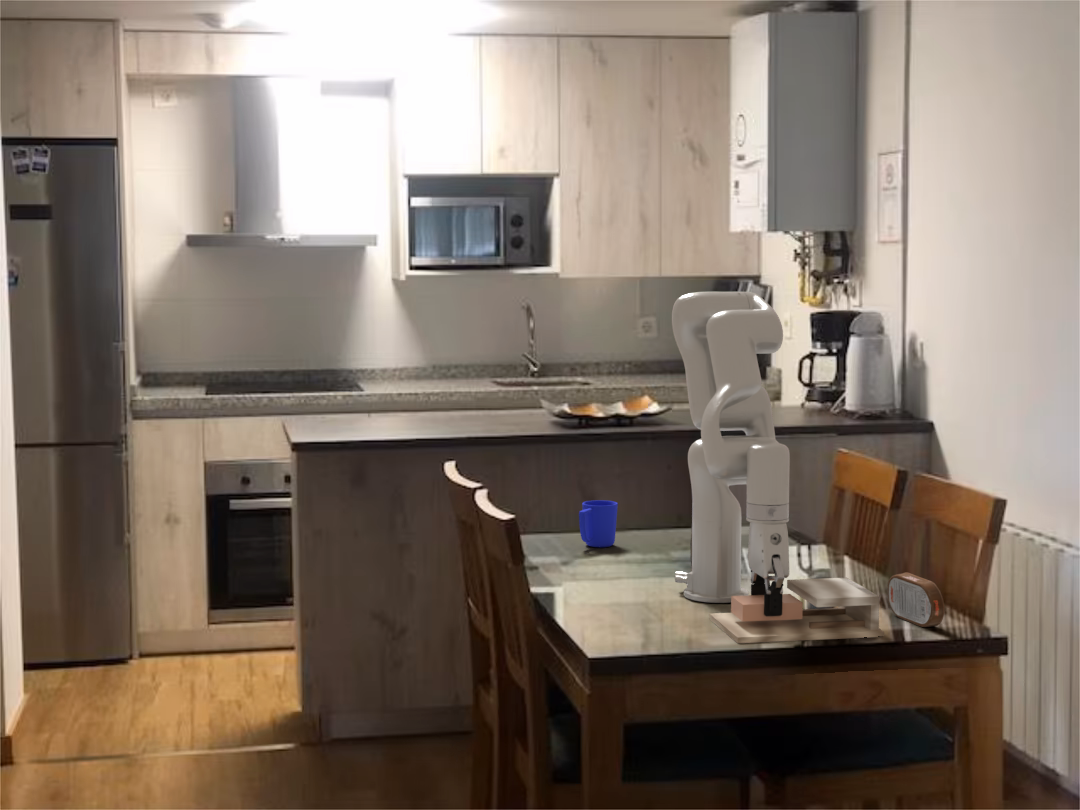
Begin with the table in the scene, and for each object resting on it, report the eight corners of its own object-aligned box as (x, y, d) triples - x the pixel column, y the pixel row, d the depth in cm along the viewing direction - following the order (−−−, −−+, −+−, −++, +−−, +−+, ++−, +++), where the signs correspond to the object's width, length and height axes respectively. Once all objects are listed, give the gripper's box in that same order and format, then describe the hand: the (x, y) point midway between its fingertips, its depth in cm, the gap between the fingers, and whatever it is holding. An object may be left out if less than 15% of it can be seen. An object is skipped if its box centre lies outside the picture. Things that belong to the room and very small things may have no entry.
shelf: (737, 643, 260) (738, 603, 260) (709, 618, 278) (709, 581, 277) (883, 636, 265) (884, 597, 264) (846, 613, 282) (847, 576, 282)
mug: (566, 549, 346) (566, 506, 345) (594, 541, 355) (594, 499, 355) (596, 553, 341) (596, 509, 340) (624, 544, 351) (624, 502, 350)
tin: (945, 630, 269) (946, 584, 268) (930, 632, 268) (931, 585, 267) (898, 612, 283) (899, 568, 282) (883, 613, 282) (884, 569, 281)
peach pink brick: (789, 610, 275) (789, 593, 274) (802, 619, 268) (802, 602, 267) (731, 612, 273) (731, 596, 272) (742, 621, 266) (742, 604, 266)
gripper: (804, 520, 260) (802, 621, 262) (772, 504, 278) (771, 599, 279) (762, 521, 259) (760, 623, 261) (733, 505, 276) (732, 600, 278)
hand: (766, 609), depth 270 cm, fingers closed on peach pink brick, 7 cm apart
